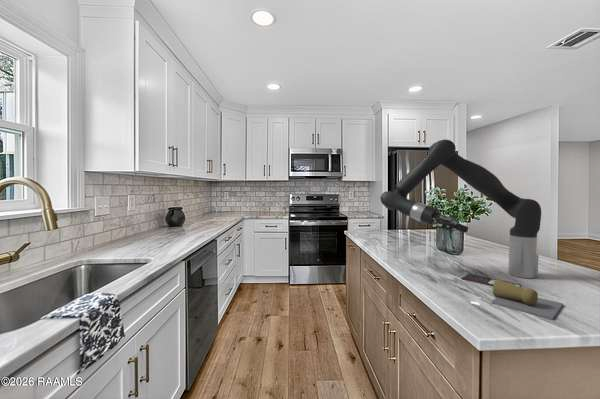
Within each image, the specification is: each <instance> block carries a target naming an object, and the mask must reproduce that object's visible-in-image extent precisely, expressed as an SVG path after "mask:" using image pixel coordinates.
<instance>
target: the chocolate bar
mask: <svg viewBox="0 0 600 399" xmlns="http://www.w3.org/2000/svg"><path fill="white" fill-rule="evenodd" d="M461 280H463V281H466V282H472V283H476V284H481V285H484V286H489V287H493V285H494V283H495V281H496V280H498V279H496V278H491V277H487V276H486V277H485V276H483V275H482V276H481V275H477V274H473V273H472V274H471V273H467V274H466V275H464V276H463V277H461ZM501 281H503V282H506V283H509V284H512V285H515V286H517V287H520V288H521V286H522V285H521V284H520V283H516V282H510V281H505V280H501Z"/></svg>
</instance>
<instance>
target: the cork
mask: <svg viewBox="0 0 600 399" xmlns="http://www.w3.org/2000/svg"><path fill="white" fill-rule="evenodd" d="M503 281H504V280H502V281H501V280H500V279H497V280H496V281H495V283H494V285H493V286H492V295H493V296H494V297H495V298H497V297H500V298H505V299H511V300H517V301H523V302H524V303H525V304H527V305H535V304H536V303H537V300H538V298H539V295H538V291H536V290H535V289H533V288H528V287H526V288H523V287H521V286H520V287H517V286H515V285H512V284H509V283H506V282H503Z"/></svg>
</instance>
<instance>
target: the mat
mask: <svg viewBox="0 0 600 399" xmlns="http://www.w3.org/2000/svg"><path fill="white" fill-rule="evenodd" d="M491 304H494V305H496V306H497V305H498V306H500V307H501V306H502V307H505V308H508V309H510V310H511V309H512V310H516V311H519V312H522V313H525V314H530V315H533V316H538V317H540V318H544V319H546V320H547V319H548V320H551V319H552V320H551V321H553V320H554V319H553V318H555V317H556V316H557V314H558V313H559V312H560V310H561V309H562V307H563V306H564V303H562V302H559V301H555V300H554V301H553V300H550V299H546V298H541V297H538V300H537V303H536V304H535V305H527V304H525V303H524V302H523V301H517V300H511V299H505V298H500V297H495V298H494V299H493V300H492V301H491Z"/></svg>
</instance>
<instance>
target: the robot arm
mask: <svg viewBox="0 0 600 399" xmlns="http://www.w3.org/2000/svg"><path fill="white" fill-rule="evenodd" d="M439 166H444V167H445V168H446V169H448V170H449V171H451V172H453V173H454V174H455V175H456V176H458V178H460V179H461V180H462V181H464V182H465V183H466V184H467V185H469V186H470V187H472V188H473V189H475V190H476V191H477V192H479V194H481V195H483V196H484V197H486V198H487V199H490V200H491V201H493V202H494V203H495V204H496V205H498V206H499V207H500V208H501V209H502V210H504V212H506V213H507V215H509V216H510V217H512V218H514V219H515V220H514V221H515V222H514V225H513V226H512V227H511V228H510V229H509V242H508V243H509V244H508V245H509V246H508V247H509V249H508V271H507V272H508V275H511V276H513V277H517V278H521V279H522V278H523V279H535V278H538V277H539V254H537V246H538V243H537V242H538V233H539V232H540V229H541V223H542V222H541V221H542V208H541V205H540V203H539V202H538V201H536V200H535V199H531V198H522V197H520V196H518V195H516V194H514V193H513V192H512V191H510V190H508V189H507V188H506V187H505V186H504V185H503V183H502V182H501V180H500V178H498V177H497V176H496V175H495V174H494V173H492V172H491V171H489V170H488V169H487V168H486V167H483V166H482V165H480V164H478V163H475V162H473V161H471V160H468V159H465V158H464V157H462V156H461V155H459V154H458V153H457V152H456V145H455V143H454V142H453V141H451V140H450V139H441V140H437V141H436V142H434V143H432V144H431V145H430V147H429V149H428V155H427V156H426V157H424V158H423V160H422V161H421V162H419V163H418V165H416V166H415V167H413V169H411V170H410V171H409V172H408V173H406V174H405V175H404V176H402V178H401V179H400V180H399V181H398V182H397V183H396V184H395V190H394V191H392V190H391V191H389V190H387V191H384V192H382V194H381V195H380V201H381V204H382V205H383V206H384V207H385V208H386V209H387V210H390V211H395V210H396V211H398V212H400V213H401V214H403V215H405V216H407V217H410V218H412V219H413V220H415V221H418V222H420V223H423V224H426V226H427V225H428V226H429V227H430V226H433V225H434V224H435V225H436V226H435V227H436V228H438V229H443V230H450V231H452V230H457V231H459V232H462V233H465V234H466V233H467V232H469V227H468V226H467V225H463V224H462V223H460V222H459V219H456V217H454V216H452V215H446V214H441V213H440V210H439V209H438V208H436V207H433V206H430V205H427V204H424V203H421V202H417V201H415V200H412V199H408V198H407V197H408V195H409V194H410V193H411V192H412V191H414V189H415V188H417V187H418V186H419V185H420V184H421V183H422V181H423V180H424V179H426V178H427V177H428V176H429V175H430V174H431V173H432V172H433V171H434V170H436V169H437V168H438V167H439Z"/></svg>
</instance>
